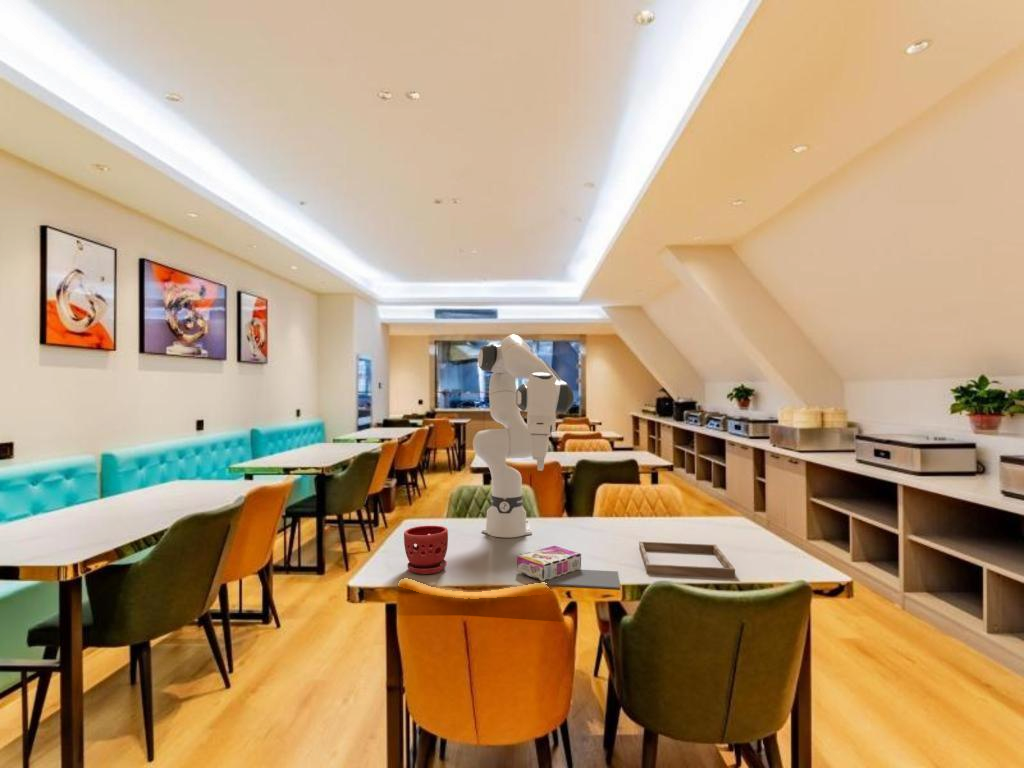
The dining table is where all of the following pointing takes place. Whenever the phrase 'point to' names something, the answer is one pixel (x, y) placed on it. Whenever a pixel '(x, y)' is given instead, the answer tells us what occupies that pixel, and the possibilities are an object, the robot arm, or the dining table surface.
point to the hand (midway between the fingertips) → (540, 469)
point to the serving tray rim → (686, 570)
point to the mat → (587, 579)
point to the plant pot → (426, 548)
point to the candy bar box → (548, 563)
